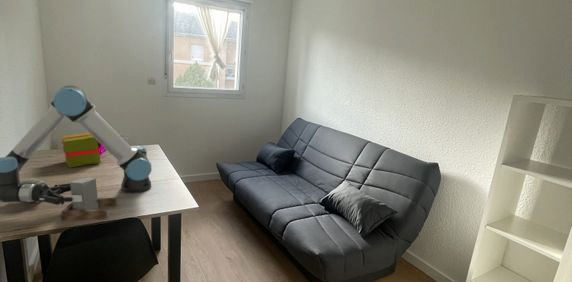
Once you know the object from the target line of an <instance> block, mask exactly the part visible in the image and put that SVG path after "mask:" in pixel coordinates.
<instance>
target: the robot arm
mask: <svg viewBox="0 0 572 282" xmlns="http://www.w3.org/2000/svg"><path fill="white" fill-rule="evenodd" d="M49 105H50V107H49V109H48V110H47V111H45V113H44V114H43V115H42V116H41V118H39V120H37V122H36V123H35V124H34V125H33V126H32V127H31V128H30V130H29V131H28V132H27V133H25V135H24V136H23V137H22V138H21V139H20V140H19V142H18V143H17V144H16V145H15V146H14V147H13V148H12V149H11V150H10V151H9V153H8V154H7V155H5V156H3V157H0V203H18V202H21V203H26V202H27V203H31V202H32V203H33V202H35V203H36V202H39V203H43V202H45V203H48V204H53V205H58V206H59V205H64V204H65V203H72V202H82V195H71V194H70V195H69V194H68V195H64V196H63V195H62V194H64V193H68V192H71V186H70V182H69V183H63V184H54V186H52V187H49V185H48V184H47V183H46V184H47V185H48V186H47V185H46V184H37V185H36V184H20V183H21V180H20V173H19V172H20V171H21V170H22V168H23V167H24V165H26V164H27V162H28V161H29V160H30V158H31V157H32V156H34V154H35V153H36V152H37V151H38V150H39V149H40V147H42V145H43V144H44V143H45V142H46V141H47V139H49V137H50V136H51V135H52V134H53V133H54V132H55V131H56V129H57V128H59V126H61V124H62V123H63V122H64V121H65V119H66V118H68V119H69V120H70V121H71V122H72V123H79V125H80V126H81V127H83V129H85V130H86V131H87V132H89V133H90V134H91V135H92V136H93V137H94V138H95V139H96V140H97V141H98V142H99V143H100V144H101V145H103V146H104V147H105V148H106V151H108V153H110V154H111V155H112V156H113V157H114V158H115V159H116V160H117V163H116V165H117V166H119V167H120V168H121V169H122V170H123V177H122V181H121V183H120V189H121V191H122V192H124V193H129V194H134V193H135V194H136V193H142V192H146V191H148V190H150V189H151V188H152V182H151V179H150V177H149V176H150V174H151V172H152V170H153V169H152V163H151V162H150V160H149V159H148V155H147V153H148V151H147V148H146V147H145V146H131V145H130V144H129V143H128V142H127V141H126V140H125V139H124V138H123V137H121V135H120V134H119V133H118V132H117V131H116V130H115V129H114V128H113V127H112V126H111V125H110V124H109V123H108V122H107V121H106V120H105V119H104V118H103V117H102V116H101V115H100V114H99V113H98V112H97V111H96V105H95V104H94V103H93V102H92V101H91V100H90V99H89V98H88V97H87V95H86V93H85V92H84V91H83V89H81V88H80V87H78V86H76V85H66V86H62V87H61V88H60V89H59V90H57V91H56V92H55V94H54V96H53V100H52V101H51V103H50V104H49Z"/></svg>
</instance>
